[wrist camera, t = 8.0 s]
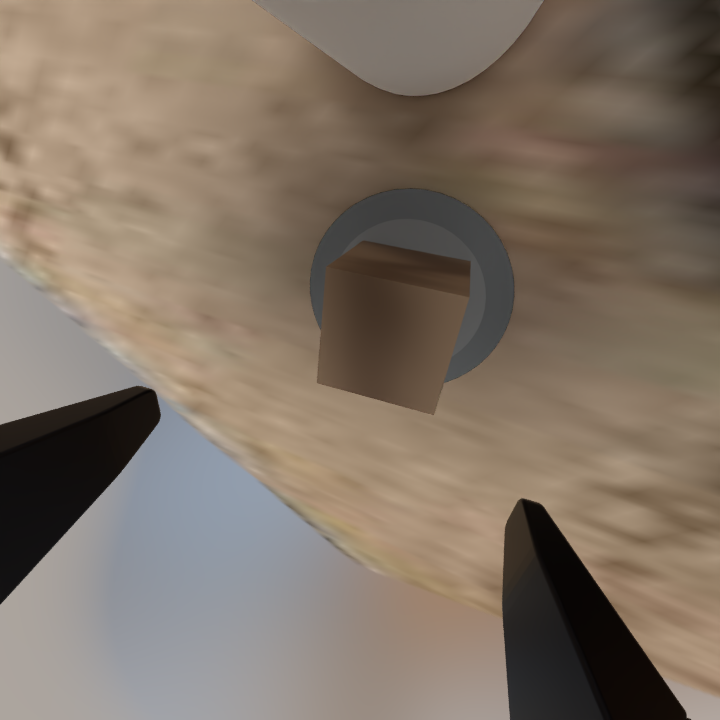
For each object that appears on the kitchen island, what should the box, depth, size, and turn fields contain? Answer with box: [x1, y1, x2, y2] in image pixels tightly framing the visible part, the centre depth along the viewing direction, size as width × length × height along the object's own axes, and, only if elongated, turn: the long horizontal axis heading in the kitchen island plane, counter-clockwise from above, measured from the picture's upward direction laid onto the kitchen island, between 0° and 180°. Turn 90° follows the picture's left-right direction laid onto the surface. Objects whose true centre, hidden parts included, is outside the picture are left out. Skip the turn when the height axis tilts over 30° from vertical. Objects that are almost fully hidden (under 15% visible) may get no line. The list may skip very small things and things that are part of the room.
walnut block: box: [317, 240, 471, 415], centre depth 15 cm, size 5×5×5 cm
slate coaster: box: [310, 189, 514, 382], centre depth 18 cm, size 10×10×1 cm
